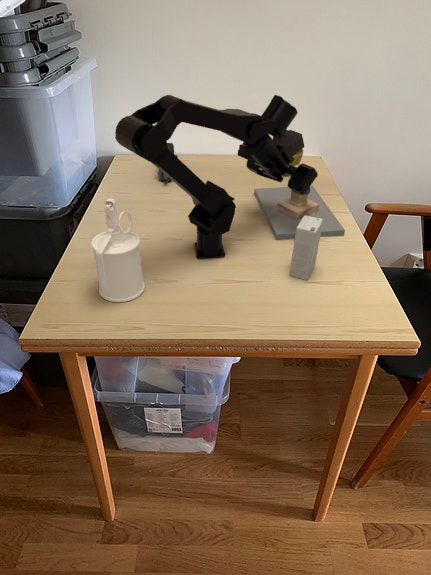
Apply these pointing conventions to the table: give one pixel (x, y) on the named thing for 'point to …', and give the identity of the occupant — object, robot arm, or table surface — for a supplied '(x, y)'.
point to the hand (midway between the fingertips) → (294, 186)
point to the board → (286, 225)
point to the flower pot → (297, 158)
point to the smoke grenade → (118, 259)
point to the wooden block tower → (297, 205)
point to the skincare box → (305, 247)
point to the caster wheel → (161, 174)
